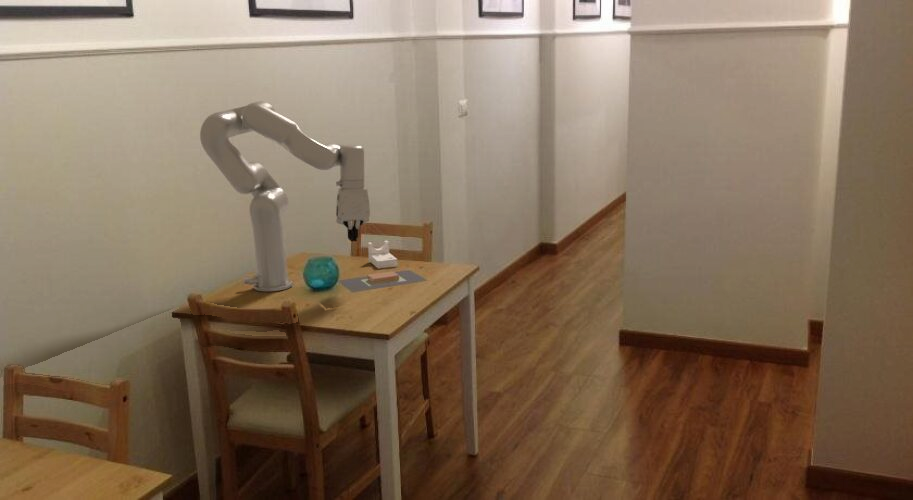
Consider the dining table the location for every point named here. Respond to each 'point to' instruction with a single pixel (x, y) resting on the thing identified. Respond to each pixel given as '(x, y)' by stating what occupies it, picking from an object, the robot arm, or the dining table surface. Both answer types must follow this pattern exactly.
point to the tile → (383, 277)
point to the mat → (365, 284)
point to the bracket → (381, 256)
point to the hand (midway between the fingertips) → (352, 240)
